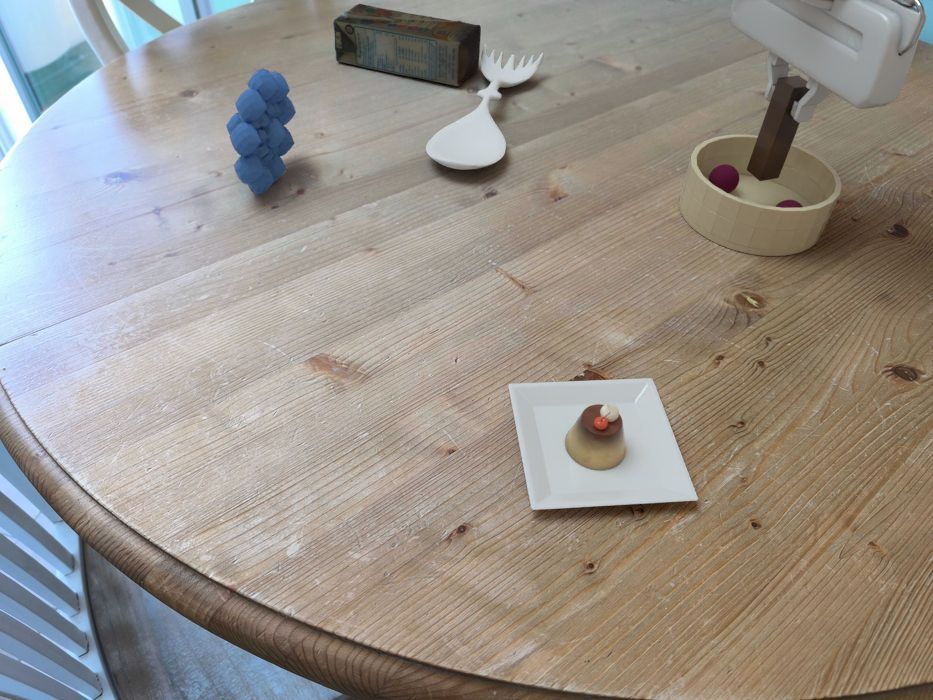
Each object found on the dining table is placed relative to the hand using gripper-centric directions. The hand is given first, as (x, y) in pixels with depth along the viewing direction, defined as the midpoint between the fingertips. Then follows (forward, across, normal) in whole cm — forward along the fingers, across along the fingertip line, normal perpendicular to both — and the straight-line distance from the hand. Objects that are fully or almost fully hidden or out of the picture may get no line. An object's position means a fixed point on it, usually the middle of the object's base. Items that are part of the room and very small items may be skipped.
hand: (785, 110), depth 73 cm
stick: (+7, 0, 0) cm, 7 cm away
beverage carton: (+12, +46, +25) cm, 54 cm away
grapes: (+12, +21, +49) cm, 55 cm away
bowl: (+12, 0, 0) cm, 12 cm away
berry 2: (+10, -4, -1) cm, 11 cm away
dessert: (+12, -24, +31) cm, 41 cm away
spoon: (+12, +28, +20) cm, 37 cm away
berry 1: (+10, +4, +1) cm, 11 cm away
